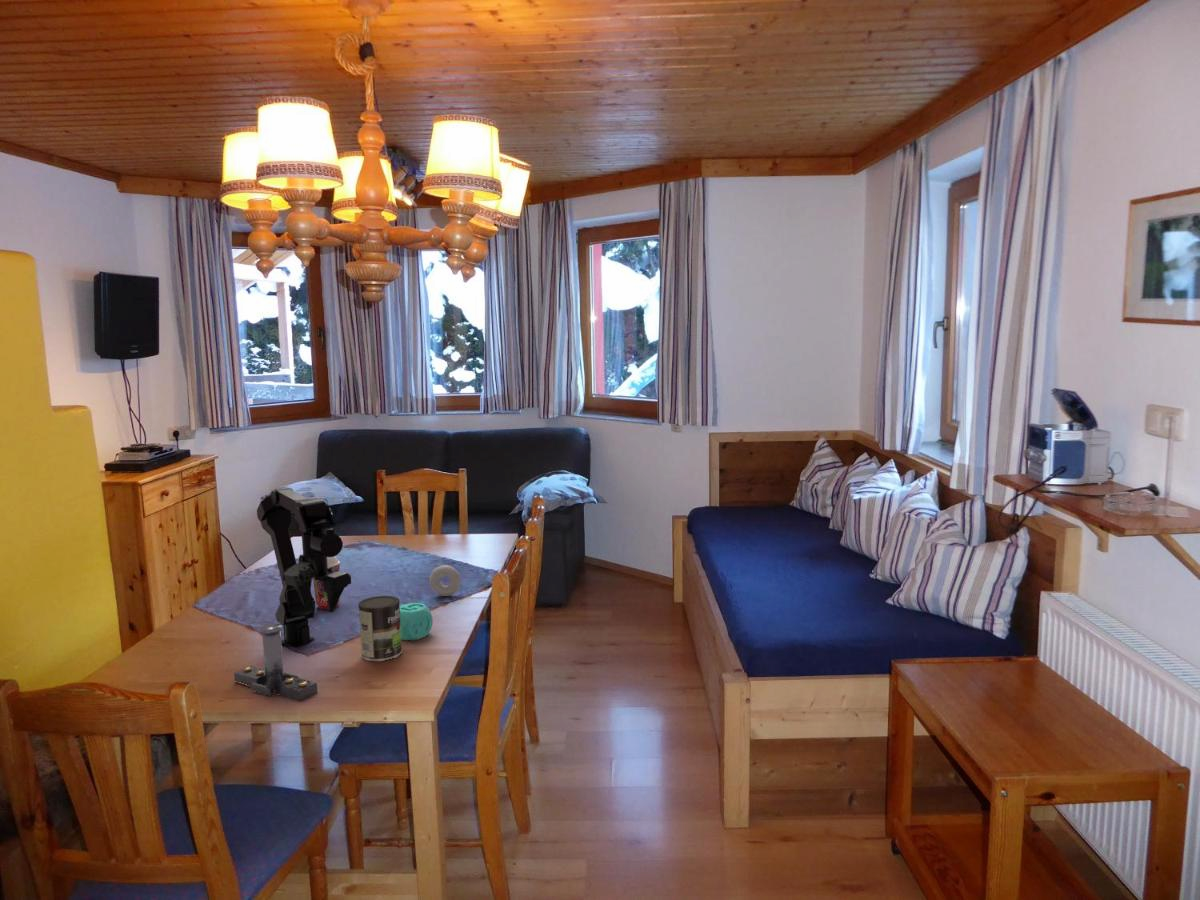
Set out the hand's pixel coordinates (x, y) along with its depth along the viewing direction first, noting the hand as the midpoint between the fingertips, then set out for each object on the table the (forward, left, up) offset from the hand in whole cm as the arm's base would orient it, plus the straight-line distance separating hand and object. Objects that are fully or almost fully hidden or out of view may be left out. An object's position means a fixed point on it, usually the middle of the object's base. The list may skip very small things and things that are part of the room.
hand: (318, 609), depth 215 cm
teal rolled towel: (+10, +23, -13) cm, 28 cm away
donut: (-4, +54, -13) cm, 56 cm away
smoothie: (-30, +30, -13) cm, 44 cm away
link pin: (+4, -18, -13) cm, 23 cm away
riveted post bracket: (+4, -18, -13) cm, 23 cm away
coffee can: (+12, +9, -13) cm, 20 cm away
